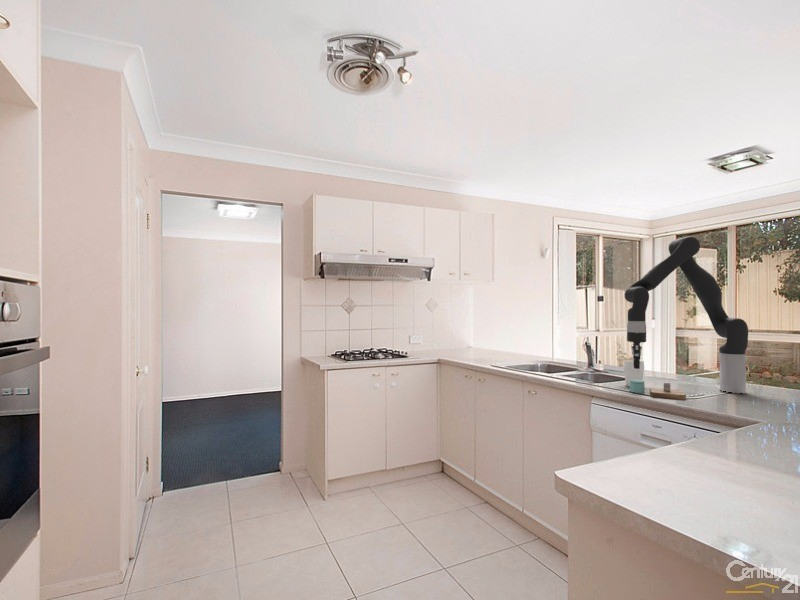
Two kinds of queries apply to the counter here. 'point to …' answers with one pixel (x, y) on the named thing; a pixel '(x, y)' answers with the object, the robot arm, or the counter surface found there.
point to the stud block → (667, 393)
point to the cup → (632, 371)
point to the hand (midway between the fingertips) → (636, 367)
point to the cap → (637, 386)
